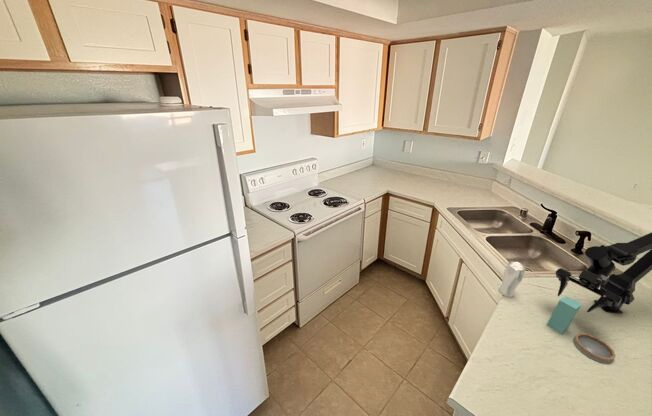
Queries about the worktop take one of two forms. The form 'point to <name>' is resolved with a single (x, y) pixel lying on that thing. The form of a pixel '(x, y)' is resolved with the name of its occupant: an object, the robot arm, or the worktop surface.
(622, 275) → the robot arm
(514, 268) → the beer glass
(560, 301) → the teal rectangular block
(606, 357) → the groove tray
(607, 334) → the worktop surface
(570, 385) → the worktop surface
